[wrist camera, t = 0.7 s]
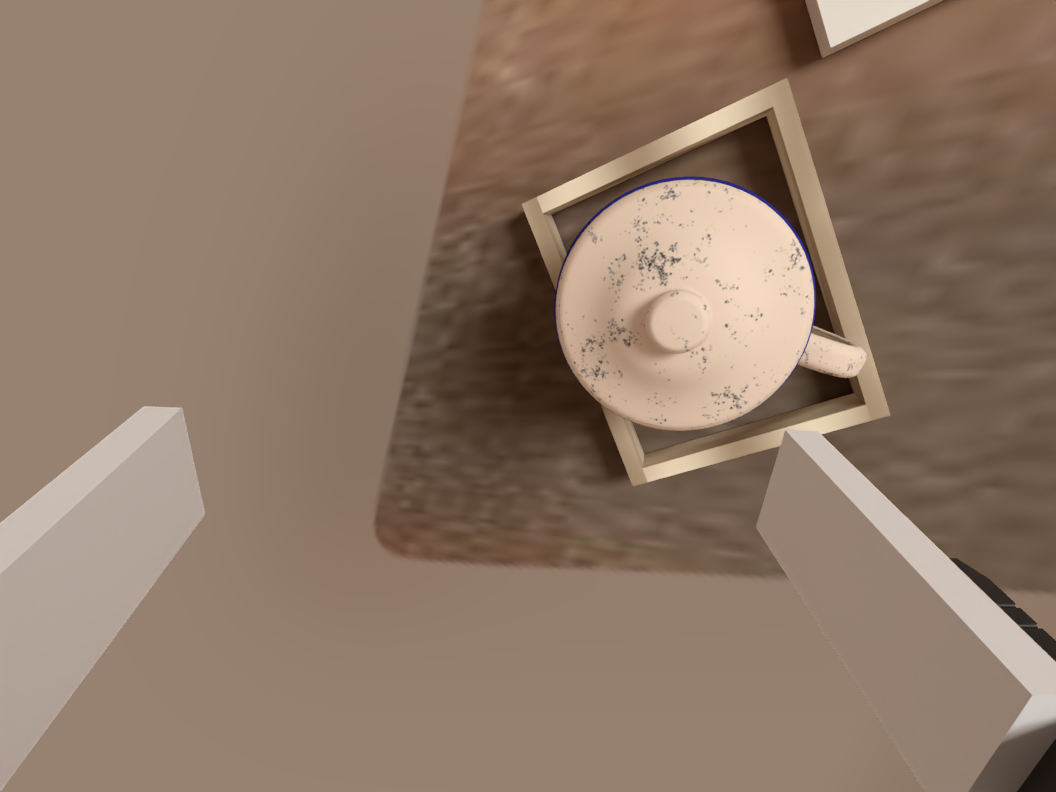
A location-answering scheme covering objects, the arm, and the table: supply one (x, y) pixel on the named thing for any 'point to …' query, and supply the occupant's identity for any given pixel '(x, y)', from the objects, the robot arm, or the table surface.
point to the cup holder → (823, 253)
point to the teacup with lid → (691, 305)
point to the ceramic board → (857, 19)
